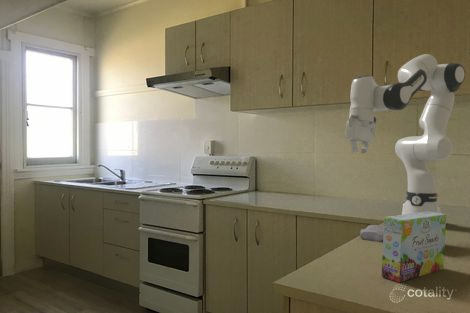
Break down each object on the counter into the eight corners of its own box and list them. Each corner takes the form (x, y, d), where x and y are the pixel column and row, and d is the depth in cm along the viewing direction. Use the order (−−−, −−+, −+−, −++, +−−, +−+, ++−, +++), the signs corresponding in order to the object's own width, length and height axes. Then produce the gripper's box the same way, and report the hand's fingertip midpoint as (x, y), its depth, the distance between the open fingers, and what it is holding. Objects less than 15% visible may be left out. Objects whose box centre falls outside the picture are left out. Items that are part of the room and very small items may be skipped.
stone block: (395, 242, 140) (369, 233, 146) (398, 230, 139) (371, 221, 145) (385, 249, 130) (357, 239, 137) (388, 236, 130) (360, 227, 136)
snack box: (402, 284, 89) (403, 219, 89) (380, 277, 93) (381, 216, 93) (445, 269, 101) (447, 212, 101) (424, 264, 106) (426, 210, 106)
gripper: (358, 113, 138) (356, 151, 138) (378, 119, 153) (376, 154, 153) (341, 114, 142) (340, 151, 142) (363, 120, 157) (361, 153, 157)
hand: (359, 152), depth 148 cm, fingers open, 8 cm apart
